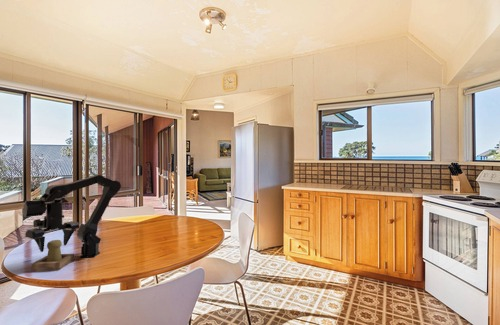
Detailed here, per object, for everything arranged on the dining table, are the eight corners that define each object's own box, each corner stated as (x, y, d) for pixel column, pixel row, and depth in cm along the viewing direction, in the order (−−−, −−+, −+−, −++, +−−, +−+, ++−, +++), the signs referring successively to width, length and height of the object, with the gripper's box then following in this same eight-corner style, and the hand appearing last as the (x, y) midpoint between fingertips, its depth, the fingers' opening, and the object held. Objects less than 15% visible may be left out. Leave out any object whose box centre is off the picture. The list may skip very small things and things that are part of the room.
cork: (60, 261, 114) (60, 237, 114) (64, 264, 110) (64, 240, 111) (43, 265, 110) (44, 240, 110) (47, 269, 106) (47, 243, 106)
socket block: (74, 259, 116) (74, 253, 116) (59, 269, 105) (59, 262, 105) (48, 260, 115) (48, 254, 115) (31, 271, 104) (31, 264, 104)
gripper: (65, 208, 122) (64, 240, 122) (18, 215, 105) (17, 252, 104) (80, 210, 118) (79, 243, 117) (33, 218, 100) (32, 256, 100)
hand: (53, 248), depth 110 cm, fingers open, 9 cm apart
